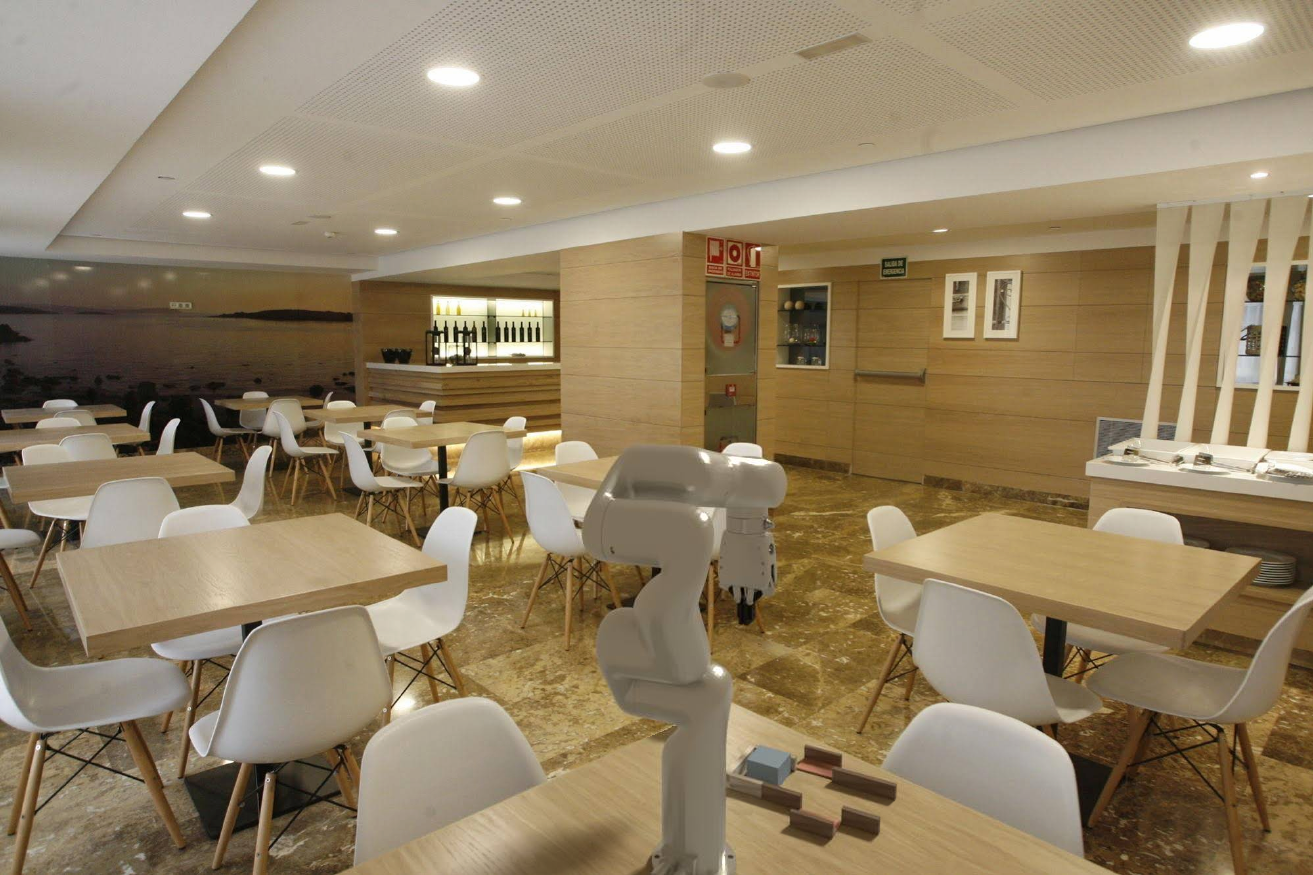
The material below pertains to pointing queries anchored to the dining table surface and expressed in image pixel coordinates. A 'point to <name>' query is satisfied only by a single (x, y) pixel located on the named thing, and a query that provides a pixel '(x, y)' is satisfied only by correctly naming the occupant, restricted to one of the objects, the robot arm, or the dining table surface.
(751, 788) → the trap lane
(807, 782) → the dining table surface
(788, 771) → the slate block
